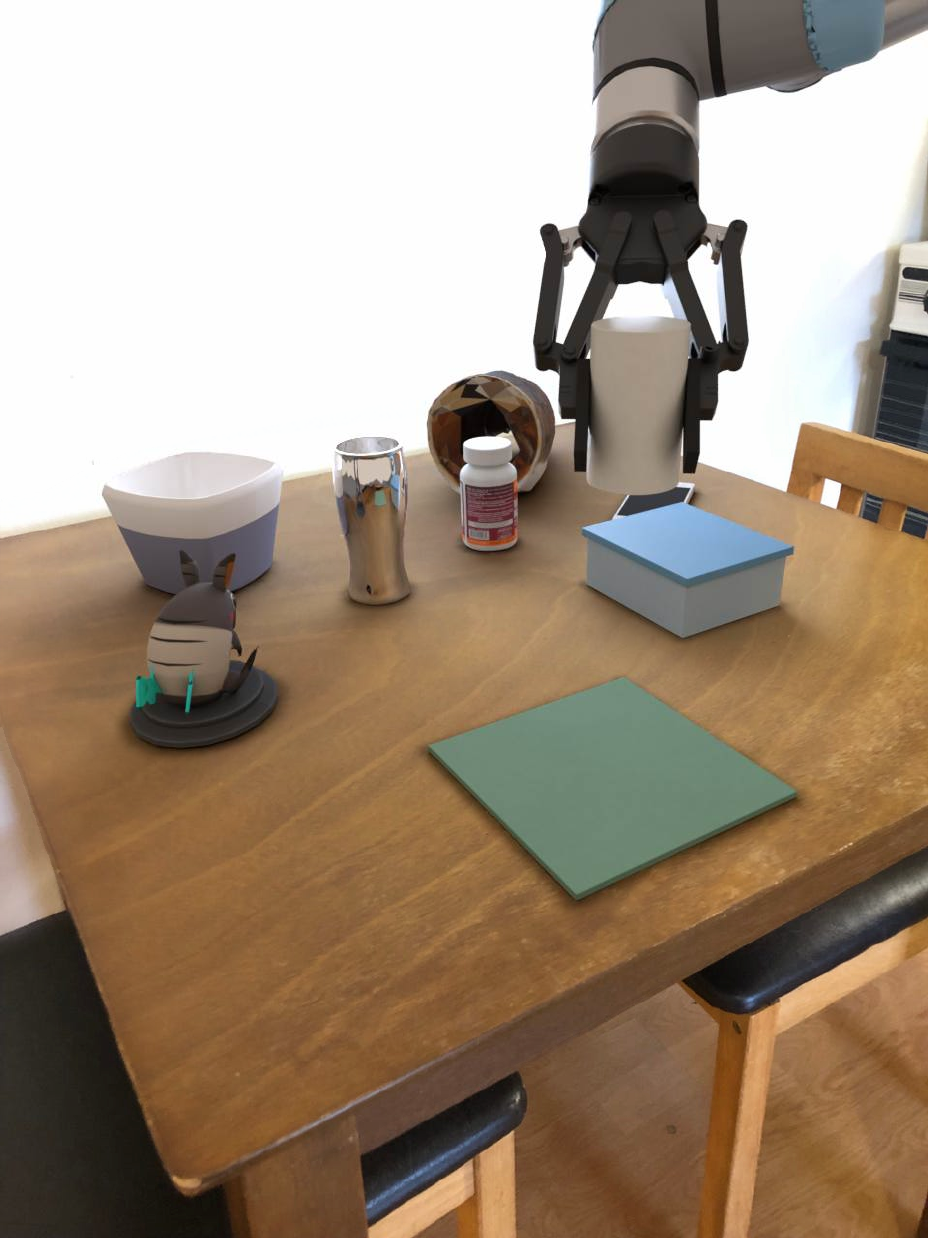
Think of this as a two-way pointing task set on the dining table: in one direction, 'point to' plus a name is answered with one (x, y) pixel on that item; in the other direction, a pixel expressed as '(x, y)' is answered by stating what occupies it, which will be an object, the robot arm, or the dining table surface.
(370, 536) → the beer glass
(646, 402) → the white canister
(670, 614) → the storage box
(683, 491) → the smartphone
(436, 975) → the dining table surface
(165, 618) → the figurine
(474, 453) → the pill bottle
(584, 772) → the mat
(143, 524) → the bowl
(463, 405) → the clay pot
